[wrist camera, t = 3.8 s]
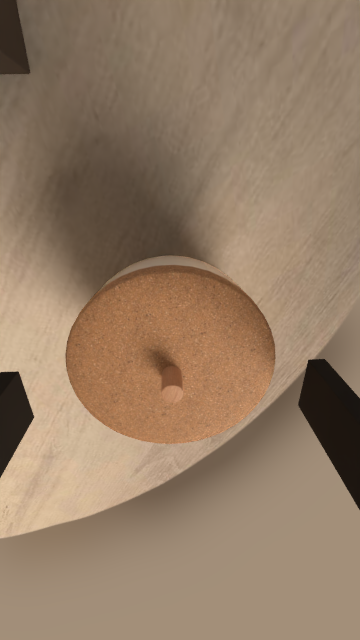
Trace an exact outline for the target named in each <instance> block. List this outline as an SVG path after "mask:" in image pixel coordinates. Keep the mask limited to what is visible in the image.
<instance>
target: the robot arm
mask: <svg viewBox="0 0 360 640" xmlns="http://www.w3.org/2000/svg"><path fill="white" fill-rule="evenodd" d="M298 405H299V407H300V409H301V411H302V412H303V414H304V416H305V418H306V419H307V421H308V423H309V424H310V426H311V428H312V429H313V431H314V433H315V435H316V436H317V438H318V440H319V441H320V443H321V445H322V447H323V448H324V450H325V452H326V453H327V455H328V457H329V458H330V460H331V462H332V464H333V465H334V467H335V469H336V470H337V472H338V474H339V475H340V477H341V479H342V481H343V482H344V484H345V486H346V487H347V489H348V491H349V493H350V494H351V496H352V498H353V499H354V501H355V503H356V504H357V506H358V508H359V509H360V398H359V397H358V396H357V395H356V394H355V393H354V391H353V390H352V389H351V388H350V387H349V386H348V385H347V384H346V382H345V381H344V380H343V379H342V378H341V377H340V376H339V375H338V373H337V372H336V371H335V370H334V369H333V368H332V367H331V366H330V364H329V363H328V362H327V361H326V360H325V359H314V360H308V364H307V368H306V373H305V377H304V382H303V386H302V390H301V394H300V399H299V404H298ZM33 418H34V415H33V412H32V409H31V406H30V404H29V401H28V398H27V395H26V392H25V389H24V386H23V383H22V380H21V377H20V374H19V372H1V373H0V477H1V476H2V474H3V472H4V470H5V469H6V467H7V465H8V463H9V461H10V460H11V458H12V456H13V454H14V452H15V451H16V449H17V447H18V445H19V443H20V442H21V440H22V438H23V436H24V434H25V433H26V431H27V429H28V427H29V426H30V424H31V422H32V420H33Z"/></svg>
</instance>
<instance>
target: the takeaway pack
mask: <svg viewBox="0 0 360 640" xmlns="http://www.w3.org/2000/svg"><path fill="white" fill-rule="evenodd" d="M29 73H30V69H29V64H28V59H27V54H26V49H25V44H24V39H23V34H22V29H21V24H20V19H19V14H18V9H17V4H16V0H0V74H29Z"/></svg>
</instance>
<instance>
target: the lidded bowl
mask: <svg viewBox="0 0 360 640" xmlns="http://www.w3.org/2000/svg"><path fill="white" fill-rule="evenodd" d="M274 365H275V344H274V340H273V336H272V332H271V329H270V327H269V325H268V323H267V321H266V319H265V317H264V315H263V314H262V312H261V311H260V310H259V308H258V307H257V305H256V304H255V303H254V301H253V300H252V299H251V298H250V297H249V296H248V295H247V294H246V293H245V292H244V291H243V290H242V289H241V288H240V287H239V286H238V285H237V284H236V283H235V282H234V281H233V280H232V279H231V278H230V277H229V276H227V275H226V274H225V273H223V272H222V271H220V270H219V269H217V268H216V267H214V266H212V265H210V264H208V263H205V262H203V261H201V260H197V259H193V258H190V257H184V256H174V255H171V256H158V257H153V258H148V259H144V260H142V261H139V262H137V263H134V264H132V265H130V266H128V267H127V268H125V269H123V270H121V271H120V272H119V273H117V274H116V275H115V276H114V277H112V278H111V279H110V280H109V281H108V282H106V283H105V284H104V286H103V287H102V288H101V289H100V290H99V292H97V293H96V294H95V295H94V296H93V297H92V298H91V299H90V301H89V302H88V303H87V304H86V305H85V307H84V308H83V309H82V310H81V312H80V313H79V315H78V317H77V319H76V321H75V322H74V324H73V326H72V328H71V331H70V334H69V337H68V341H67V348H66V367H67V372H68V376H69V380H70V383H71V385H72V387H73V389H74V391H75V393H76V395H77V397H78V398H79V400H80V401H81V402H82V404H83V405H84V407H85V408H86V409H87V410H88V411H89V412H90V413H91V414H92V415H93V416H94V417H95V418H96V419H98V420H99V421H100V422H102V423H103V424H104V425H106V426H108V427H109V428H111V429H113V430H114V431H116V432H118V433H121V434H123V435H126V436H128V437H131V438H135V439H138V440H141V441H147V442H153V443H165V444H174V443H186V442H192V441H198V440H201V439H205V438H208V437H211V436H214V435H216V434H218V433H221V432H223V431H225V430H227V429H228V428H230V427H232V426H234V425H235V424H237V423H238V422H239V421H241V420H242V419H243V418H245V417H246V416H247V415H248V414H249V413H250V412H251V411H252V410H253V409H254V408H255V406H256V405H257V404H258V403H259V401H260V400H261V399H262V397H263V396H264V394H265V392H266V390H267V388H268V386H269V384H270V381H271V378H272V375H273V372H274Z"/></svg>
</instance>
